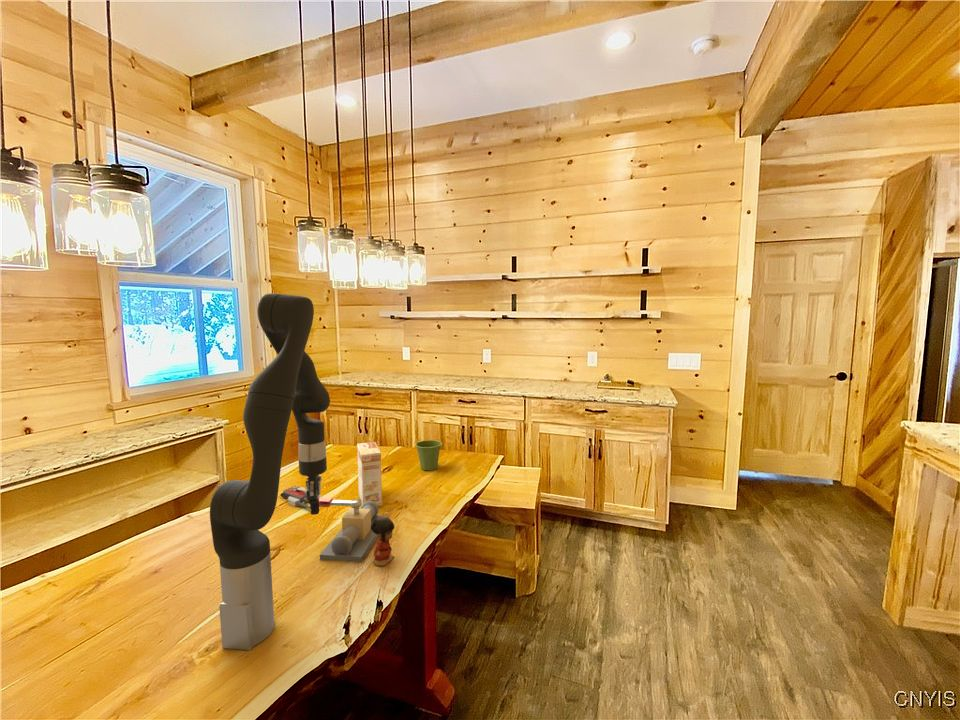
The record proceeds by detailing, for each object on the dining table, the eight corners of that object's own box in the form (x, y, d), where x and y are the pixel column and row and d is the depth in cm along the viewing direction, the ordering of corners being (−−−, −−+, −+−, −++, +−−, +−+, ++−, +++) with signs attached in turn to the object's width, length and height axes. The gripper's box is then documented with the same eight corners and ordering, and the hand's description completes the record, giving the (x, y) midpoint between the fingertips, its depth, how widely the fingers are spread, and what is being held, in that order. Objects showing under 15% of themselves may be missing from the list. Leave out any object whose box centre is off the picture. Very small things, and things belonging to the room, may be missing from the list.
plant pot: (447, 466, 187) (447, 442, 186) (431, 475, 177) (430, 449, 176) (427, 461, 193) (426, 438, 192) (410, 469, 183) (409, 444, 182)
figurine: (371, 568, 111) (370, 525, 110) (371, 557, 116) (370, 516, 115) (395, 564, 113) (394, 522, 111) (394, 553, 118) (393, 513, 117)
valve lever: (363, 504, 127) (363, 498, 126) (359, 509, 124) (359, 503, 123) (314, 502, 128) (314, 496, 128) (309, 506, 125) (309, 501, 125)
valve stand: (361, 562, 114) (360, 527, 113) (319, 559, 115) (318, 525, 114) (388, 519, 138) (388, 490, 137) (354, 518, 139) (353, 489, 138)
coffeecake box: (382, 505, 148) (381, 452, 146) (362, 509, 145) (360, 455, 143) (377, 489, 162) (375, 441, 160) (358, 492, 159) (356, 443, 157)
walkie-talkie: (274, 500, 154) (309, 513, 143) (274, 488, 153) (308, 501, 143) (296, 491, 161) (330, 503, 151) (295, 480, 161) (329, 492, 150)
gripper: (324, 462, 115) (327, 522, 117) (327, 448, 128) (330, 502, 129) (295, 465, 113) (298, 525, 115) (301, 450, 125) (304, 505, 127)
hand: (315, 513), depth 122 cm, fingers closed
